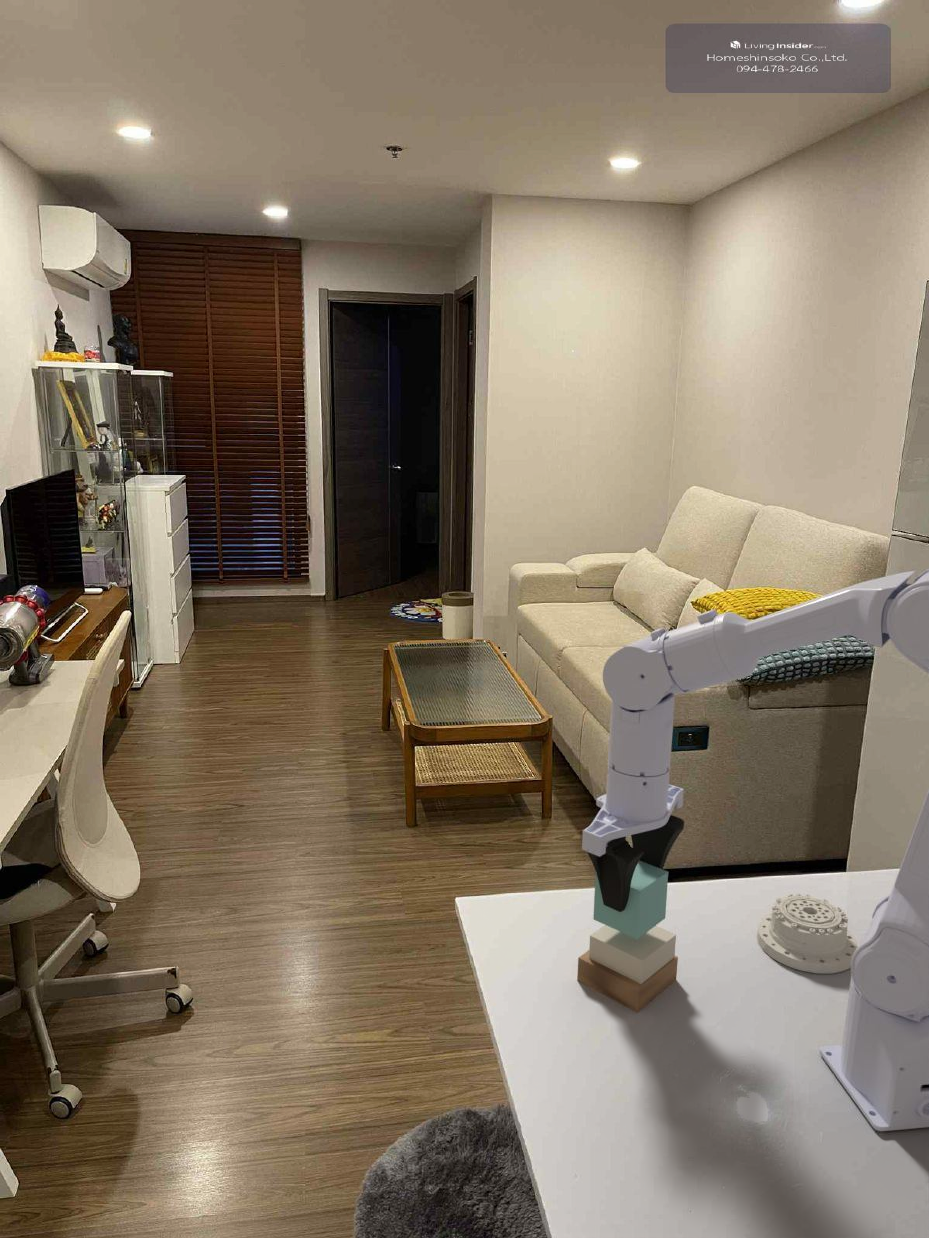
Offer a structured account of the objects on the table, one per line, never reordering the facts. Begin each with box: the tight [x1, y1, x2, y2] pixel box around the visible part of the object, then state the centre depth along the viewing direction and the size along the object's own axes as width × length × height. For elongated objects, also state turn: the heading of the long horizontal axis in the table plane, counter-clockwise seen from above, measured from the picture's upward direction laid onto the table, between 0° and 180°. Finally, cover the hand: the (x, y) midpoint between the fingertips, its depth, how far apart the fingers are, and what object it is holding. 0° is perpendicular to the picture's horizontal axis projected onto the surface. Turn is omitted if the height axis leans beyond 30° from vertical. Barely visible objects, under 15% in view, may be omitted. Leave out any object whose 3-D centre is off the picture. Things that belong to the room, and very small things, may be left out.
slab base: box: [576, 950, 679, 1013], centre depth 93 cm, size 7×7×3 cm
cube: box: [593, 861, 669, 939], centre depth 91 cm, size 5×5×5 cm
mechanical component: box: [756, 893, 859, 974], centre depth 99 cm, size 10×4×10 cm
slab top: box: [588, 924, 677, 984], centre depth 92 cm, size 6×6×2 cm
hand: (630, 895), depth 91 cm, fingers closed on cube, 5 cm apart
